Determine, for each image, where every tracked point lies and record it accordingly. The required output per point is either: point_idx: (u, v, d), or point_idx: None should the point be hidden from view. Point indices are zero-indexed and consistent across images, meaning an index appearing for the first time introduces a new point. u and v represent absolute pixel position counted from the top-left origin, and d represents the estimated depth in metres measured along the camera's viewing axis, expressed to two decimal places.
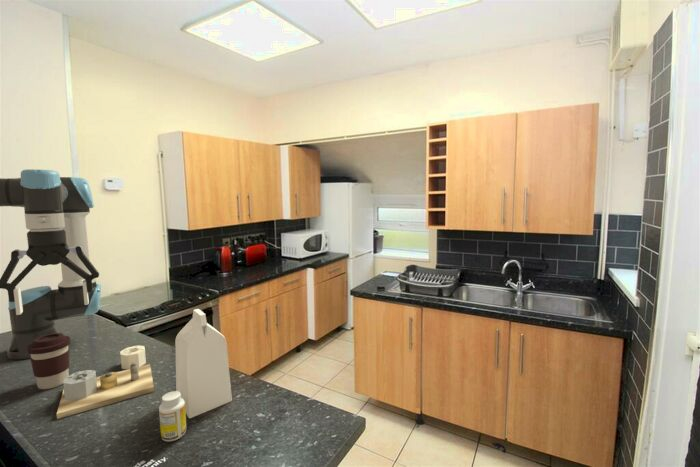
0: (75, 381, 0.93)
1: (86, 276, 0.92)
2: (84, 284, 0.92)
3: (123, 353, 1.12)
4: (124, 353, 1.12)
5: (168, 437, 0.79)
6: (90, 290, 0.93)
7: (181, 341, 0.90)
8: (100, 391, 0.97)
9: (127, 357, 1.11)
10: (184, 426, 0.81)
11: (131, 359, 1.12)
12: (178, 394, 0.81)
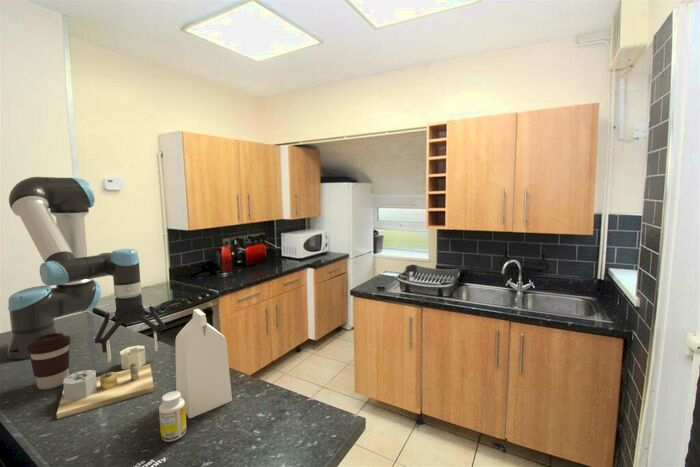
0: (75, 381, 0.93)
1: (157, 329, 1.17)
2: (155, 335, 1.17)
3: (123, 353, 1.12)
4: (124, 353, 1.12)
5: (168, 437, 0.79)
6: (159, 339, 1.18)
7: (181, 341, 0.90)
8: (100, 391, 0.97)
9: (127, 357, 1.11)
10: (184, 426, 0.81)
11: (131, 359, 1.12)
12: (178, 394, 0.81)
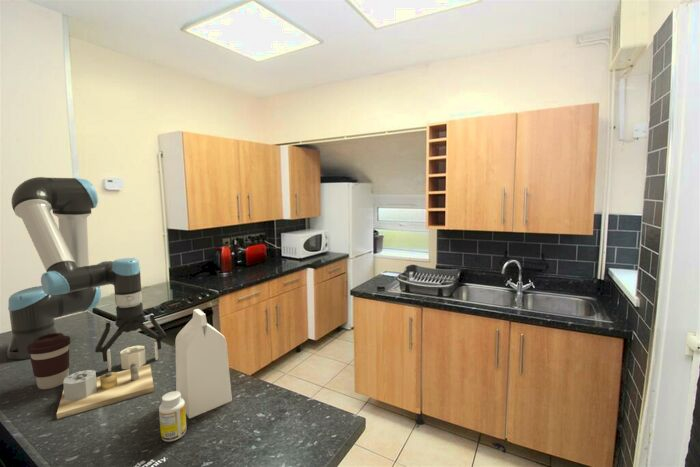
0: (75, 381, 0.93)
1: (157, 337, 1.18)
2: (156, 344, 1.17)
3: (123, 353, 1.12)
4: (124, 353, 1.12)
5: (168, 437, 0.79)
6: (159, 348, 1.19)
7: (181, 341, 0.90)
8: (100, 391, 0.97)
9: (127, 357, 1.11)
10: (184, 426, 0.81)
11: (131, 359, 1.12)
12: (178, 394, 0.81)
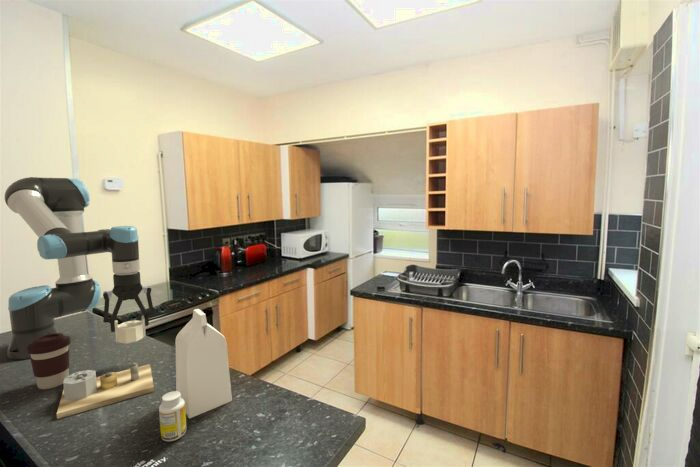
0: (75, 381, 0.93)
1: (145, 313, 1.15)
2: (143, 320, 1.15)
3: (120, 327, 1.12)
4: (121, 327, 1.12)
5: (168, 437, 0.79)
6: (147, 324, 1.16)
7: (181, 341, 0.90)
8: (100, 391, 0.97)
9: (125, 330, 1.10)
10: (184, 426, 0.81)
11: (128, 333, 1.11)
12: (178, 394, 0.81)
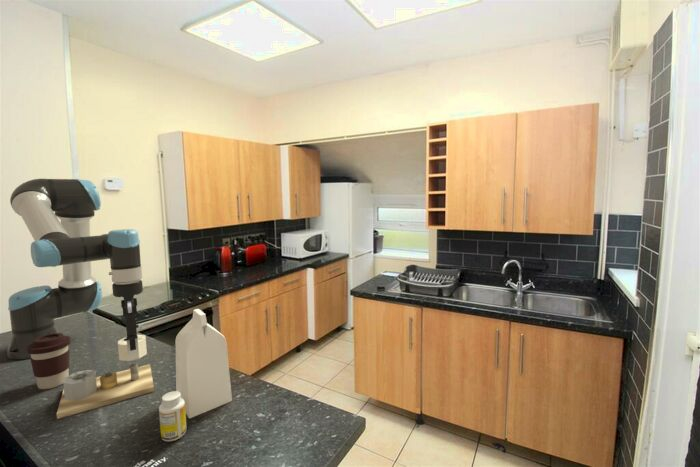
0: (75, 381, 0.93)
1: None
2: None
3: None
4: None
5: (168, 437, 0.79)
6: (130, 349, 0.97)
7: (181, 341, 0.90)
8: (100, 391, 0.97)
9: None
10: (184, 426, 0.81)
11: None
12: (178, 394, 0.81)
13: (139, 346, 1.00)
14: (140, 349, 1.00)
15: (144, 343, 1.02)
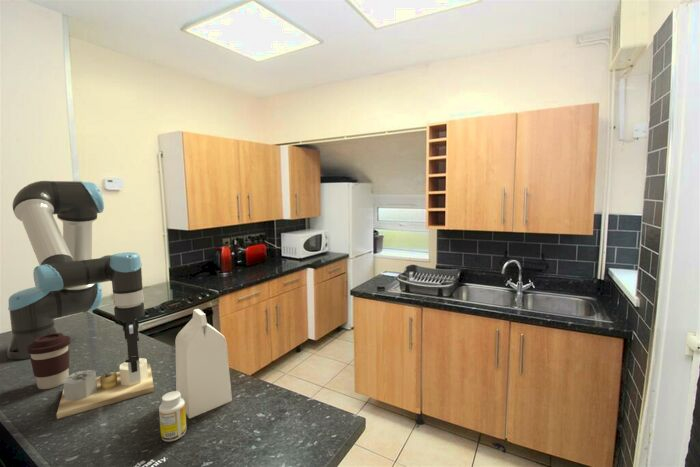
0: (75, 381, 0.93)
1: None
2: (128, 363, 0.96)
3: None
4: None
5: (168, 437, 0.79)
6: (131, 371, 0.96)
7: (181, 341, 0.90)
8: (100, 391, 0.97)
9: None
10: (184, 426, 0.81)
11: None
12: (178, 394, 0.81)
13: (140, 371, 1.01)
14: (141, 373, 1.02)
15: (145, 367, 1.03)
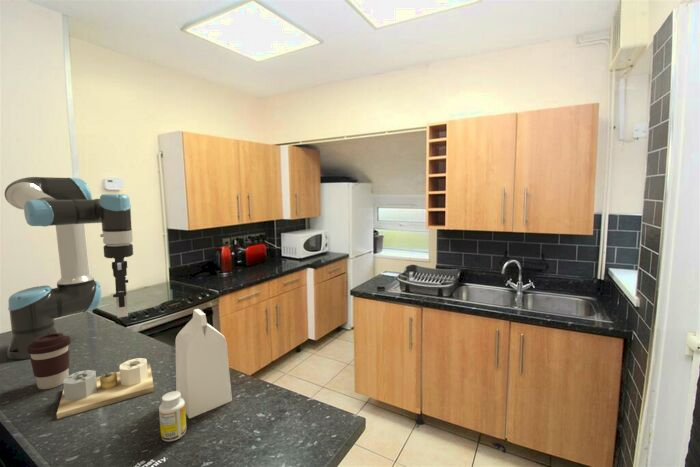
0: (75, 381, 0.93)
1: None
2: None
3: (129, 361, 1.04)
4: (128, 361, 1.04)
5: (168, 437, 0.79)
6: (119, 306, 0.99)
7: (181, 341, 0.90)
8: (100, 391, 0.97)
9: None
10: (184, 426, 0.81)
11: None
12: (178, 394, 0.81)
13: (140, 371, 1.01)
14: (141, 373, 1.02)
15: (145, 367, 1.03)
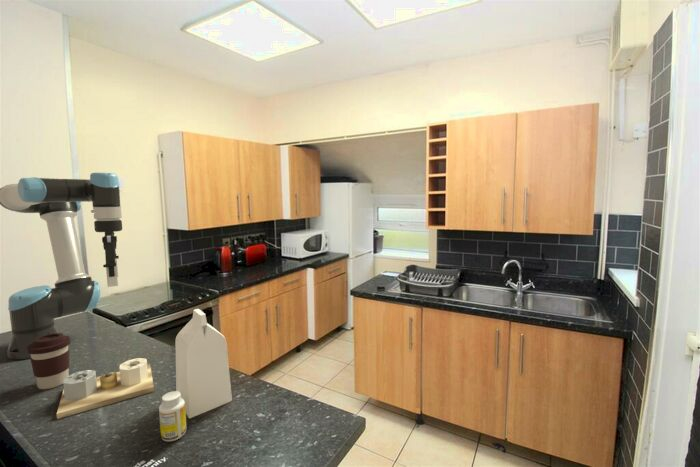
0: (75, 381, 0.93)
1: None
2: (106, 269, 1.07)
3: (129, 361, 1.04)
4: (128, 361, 1.04)
5: (168, 437, 0.79)
6: (109, 275, 1.07)
7: (181, 341, 0.90)
8: (100, 391, 0.97)
9: None
10: (184, 426, 0.81)
11: None
12: (178, 394, 0.81)
13: (140, 371, 1.01)
14: (141, 373, 1.02)
15: (145, 367, 1.03)
